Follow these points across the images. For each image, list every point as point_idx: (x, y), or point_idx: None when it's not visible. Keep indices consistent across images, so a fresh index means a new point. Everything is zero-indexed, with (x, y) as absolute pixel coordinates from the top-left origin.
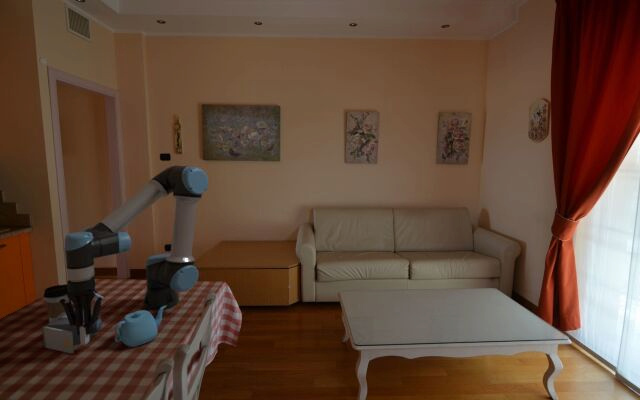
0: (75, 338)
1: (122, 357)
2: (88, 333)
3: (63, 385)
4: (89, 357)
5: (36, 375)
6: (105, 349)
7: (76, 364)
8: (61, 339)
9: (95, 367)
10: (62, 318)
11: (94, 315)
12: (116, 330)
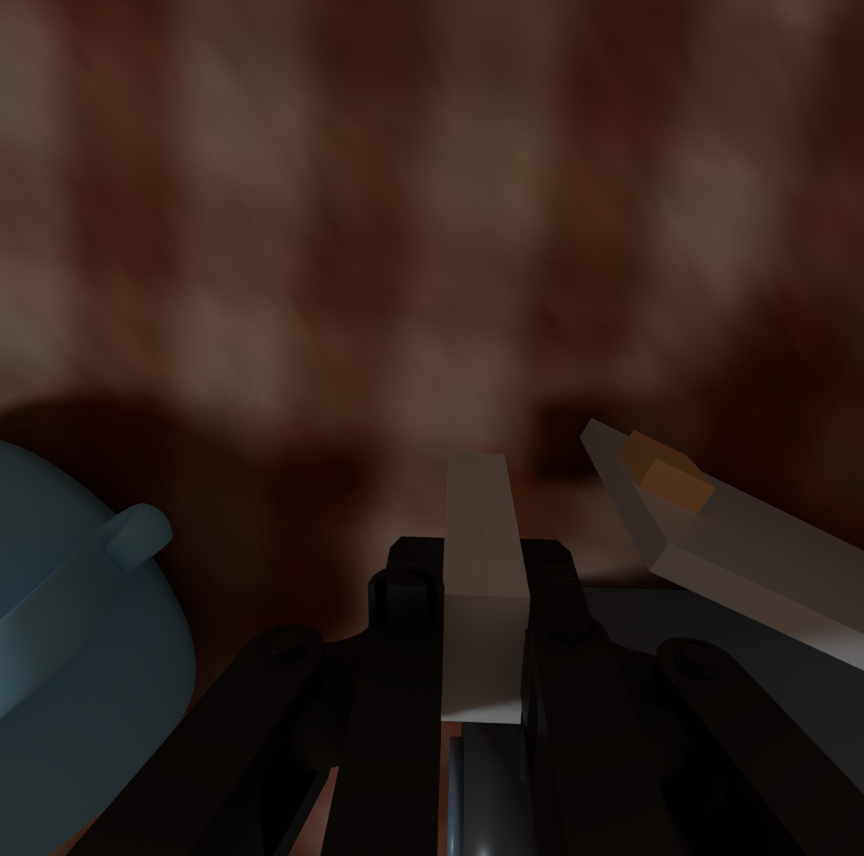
0: (642, 632)
1: (2, 259)
2: (408, 545)
3: None
4: (370, 319)
5: (810, 27)
6: (274, 449)
7: (448, 196)
8: (774, 547)
9: (199, 91)
10: None
11: (149, 795)
12: (51, 581)
